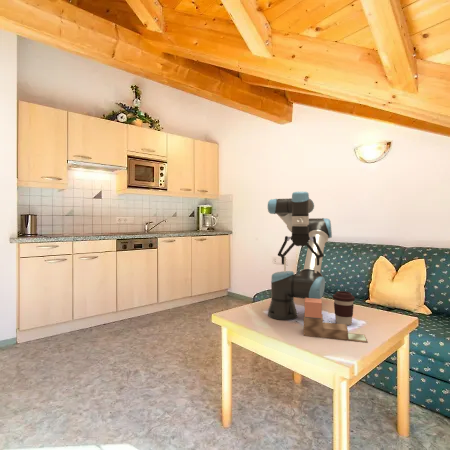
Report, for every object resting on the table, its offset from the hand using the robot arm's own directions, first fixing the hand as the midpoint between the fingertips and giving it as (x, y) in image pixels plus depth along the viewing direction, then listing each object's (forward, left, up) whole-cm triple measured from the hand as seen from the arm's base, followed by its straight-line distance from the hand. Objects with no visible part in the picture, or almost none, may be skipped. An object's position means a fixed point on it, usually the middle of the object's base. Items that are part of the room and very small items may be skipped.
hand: (300, 272), depth 135 cm
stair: (+15, -2, -27) cm, 31 cm away
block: (+6, -2, -19) cm, 20 cm away
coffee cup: (+20, +16, -27) cm, 37 cm away
